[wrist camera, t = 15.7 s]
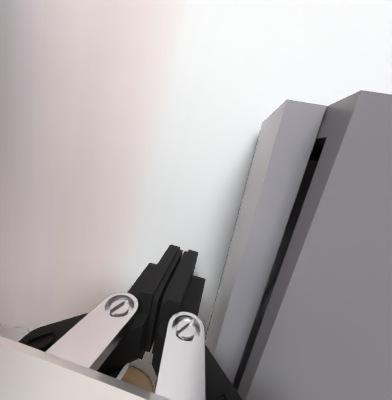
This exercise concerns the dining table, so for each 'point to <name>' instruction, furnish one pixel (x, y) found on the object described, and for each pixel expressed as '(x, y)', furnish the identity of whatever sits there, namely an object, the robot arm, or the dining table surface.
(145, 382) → the stand
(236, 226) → the tray
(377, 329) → the housing
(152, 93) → the dining table surface
